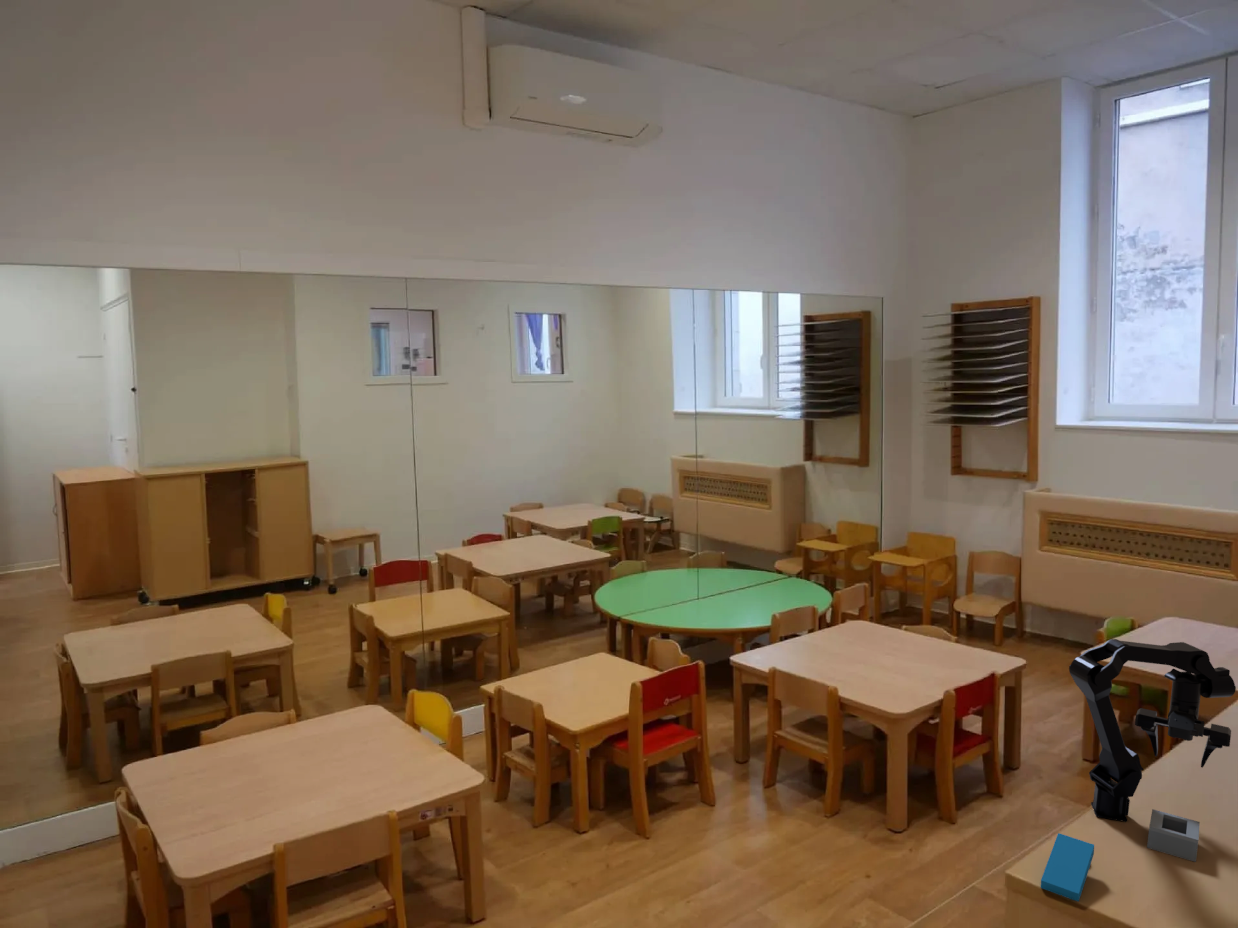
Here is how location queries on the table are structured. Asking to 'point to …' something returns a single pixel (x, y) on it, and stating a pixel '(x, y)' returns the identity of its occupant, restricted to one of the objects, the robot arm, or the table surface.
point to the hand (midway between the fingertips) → (1178, 761)
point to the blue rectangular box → (1067, 867)
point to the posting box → (1173, 835)
